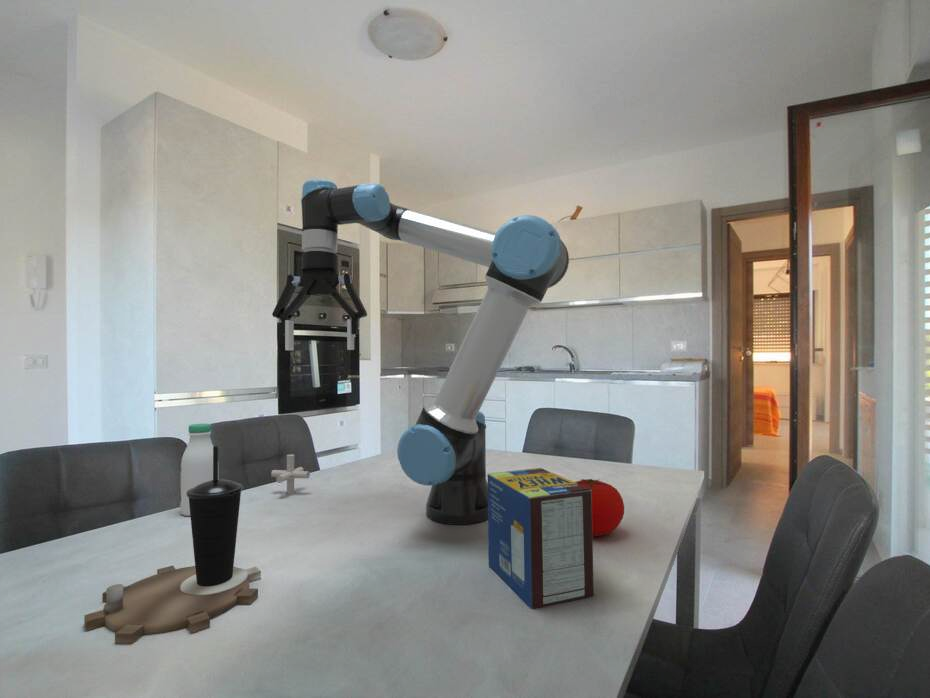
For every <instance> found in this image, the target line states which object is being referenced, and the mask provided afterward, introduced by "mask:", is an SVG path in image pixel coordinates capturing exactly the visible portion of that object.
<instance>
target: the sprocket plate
mask: <svg viewBox="0 0 930 698" xmlns="http://www.w3.org/2000/svg"><path fill="white" fill-rule="evenodd" d="M156 571H157V572H156V573H157V574H154V575H150V576H148V577H145V578H142V579H140V580H137V581H135V582H132V583H131V584H128V585H126V586H125V585H124V584H122V583H118V584H112V585H110V586H108V587H107V588H106V591H103V592H102V595H101V596H102V602H103V603H105V604H104V606H103V608H102V610H98V611H94V612H91V613H88V614H84V616H83V617H84V619H83V621H84V622H83V624H84V630H85V632H87V631H91V630H94V629H97V628H101V627H106V628H107V629H108V630H109V631H112V632H115V633H114V644H126V645H127V644H128V645H129V644H134V643H135V642H137V641H138V640H139V639H140V638H141V637H142V636H144V635H154V634H160V633H161V634H162V633H167V632H173V631H177V630H181V629H185V628H187V630H188V631H189V633H190V634H193V633H197V632H199V631H202V630H206V629H208V628H210V627H211V619H214V618H216V617H218V616H221V615H222V614H224V613H226V612H227V611H229V610H231V609H232V608H234V607H235V606H237V605H248V606H249V605H252V604H253V602H255V600H257V598H258V597H259V588H250V583H251V582H254V580H255V581H257V580H260V579H262V571H261V570H260V569H259V568H258V566H253V567H250V568H246V569H243V568H241V567H237V566H233V576H232V578H231V579H230V580H229V581H227V582H225V583H222V584H219V585H215V586H200V585H198V584H197V580H196V569H195V565H192V566H186V567H180V568H176V567H175V566H174V565H169V566H165V567H162V568H157V569H156Z"/></svg>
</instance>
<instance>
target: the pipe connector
mask: <svg viewBox="0 0 930 698" xmlns="http://www.w3.org/2000/svg"><path fill="white" fill-rule="evenodd" d="M270 474H271V475H270V476H271V477H272V478H276V479H275V480H276V483H279V484H280V483H283V482H285V481H286V495H287V496H292V494H293V495H295V479H309V478H310V476H311V472H310V471H307V470H306V471H305V469H304V468H303V466H299V467H297V468H295V454H287V455H286V469H285V470H283V469H281V470H279V469H272V470H271V473H270Z"/></svg>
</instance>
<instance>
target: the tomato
mask: <svg viewBox="0 0 930 698" xmlns="http://www.w3.org/2000/svg"><path fill="white" fill-rule="evenodd" d="M600 480H601V479H600V478H599V479H593V478H592V479H591V478H589V479H587V478H586V479H583V478H581V479H579V480H578V481H574V482H575V483H578V484H580V485H583V486H585V487H588V488H590V489H591V490H592V537H599V536H600V537H601V536H604V535H606V534H610V533H612V532H614V531H615V530H616V529H617V528H618V527H619V525H620V523H621V521H622V520H623V519H624V514H625V503H624V499H623V497H622V495H621V493H620V492H619V490H618V489H617V488H615V487H614V486H613V485H611V484H609V483H608V482H607V483H606V482H603V481H602V480H601V481H600Z"/></svg>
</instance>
